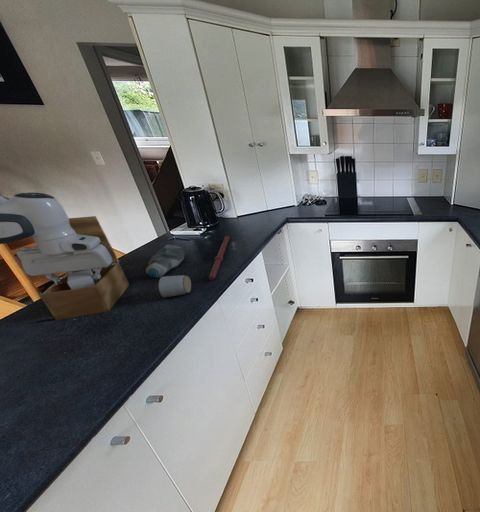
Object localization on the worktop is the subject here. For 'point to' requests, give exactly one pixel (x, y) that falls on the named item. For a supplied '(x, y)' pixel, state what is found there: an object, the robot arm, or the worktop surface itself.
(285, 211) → the worktop surface
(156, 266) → the detergent
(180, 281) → the grey cylinder
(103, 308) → the chest
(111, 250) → the lid
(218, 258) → the rolling pin
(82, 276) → the small box
